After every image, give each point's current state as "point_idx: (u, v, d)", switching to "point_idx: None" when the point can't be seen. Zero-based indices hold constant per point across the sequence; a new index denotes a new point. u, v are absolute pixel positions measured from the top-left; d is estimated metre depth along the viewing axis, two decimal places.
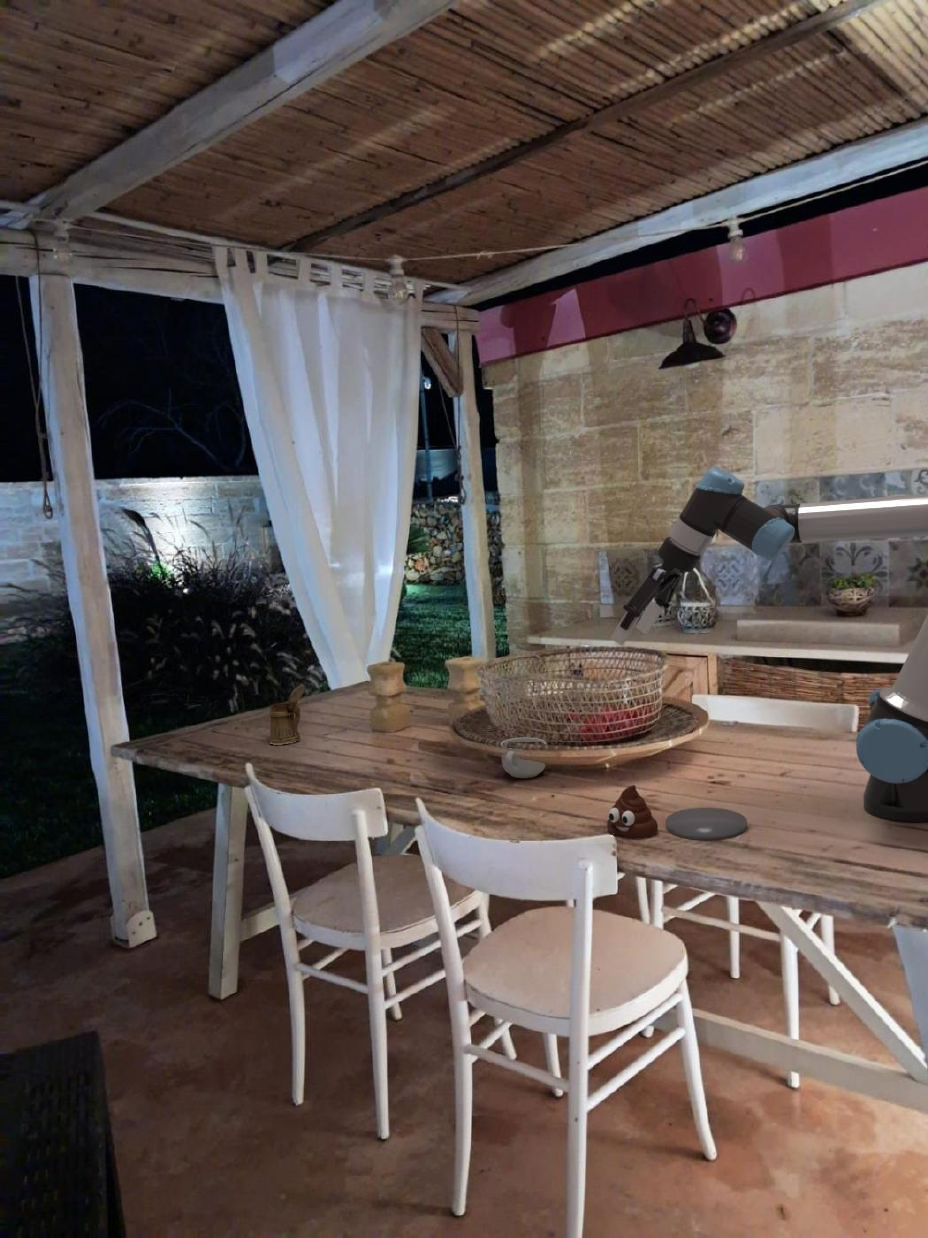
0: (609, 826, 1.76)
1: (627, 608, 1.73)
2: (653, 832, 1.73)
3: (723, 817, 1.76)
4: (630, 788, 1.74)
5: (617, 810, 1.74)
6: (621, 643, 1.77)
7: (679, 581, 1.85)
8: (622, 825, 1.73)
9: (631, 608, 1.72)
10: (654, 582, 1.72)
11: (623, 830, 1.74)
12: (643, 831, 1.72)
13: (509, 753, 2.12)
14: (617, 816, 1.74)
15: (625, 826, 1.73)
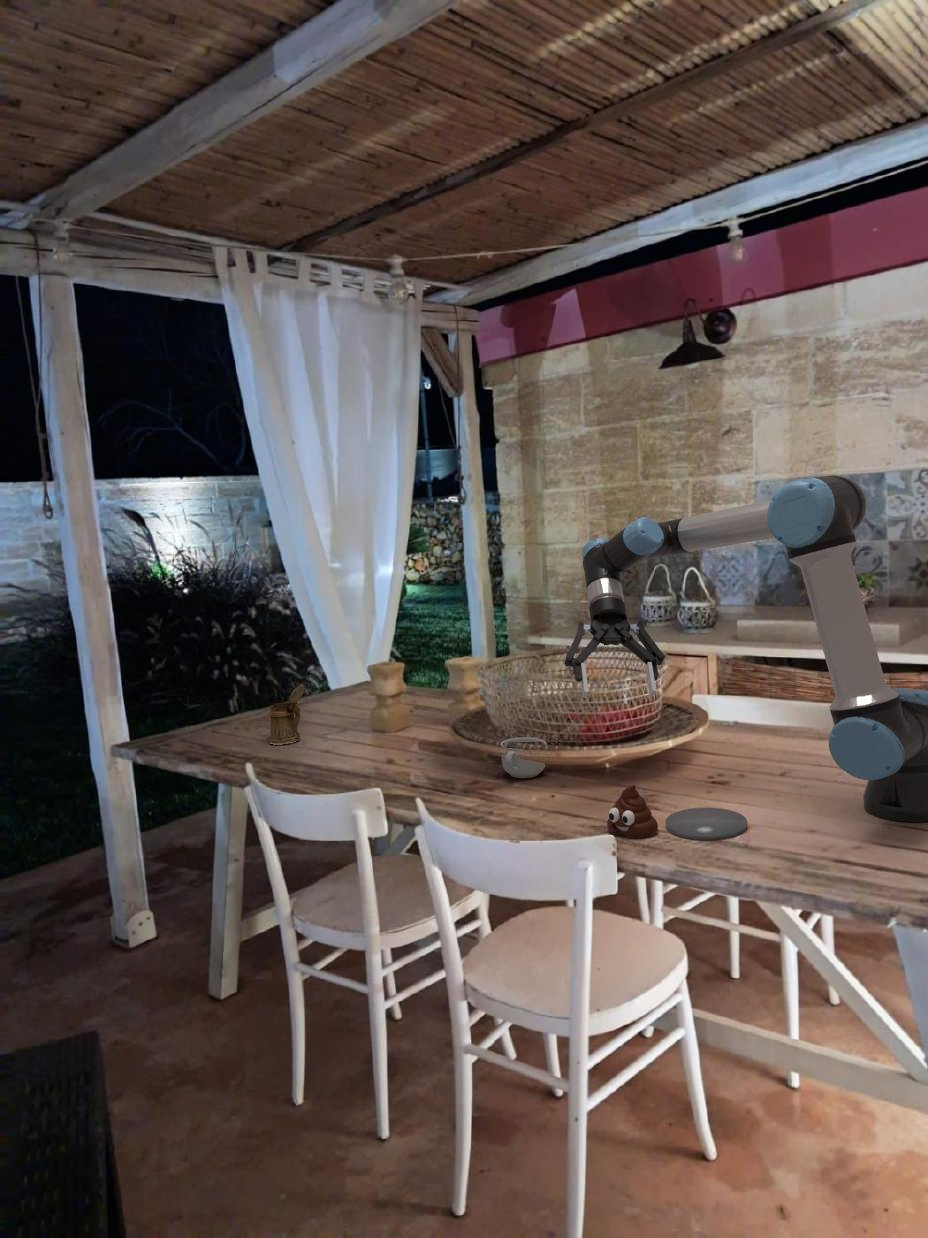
0: (609, 826, 1.76)
1: None
2: (653, 832, 1.73)
3: (723, 817, 1.76)
4: (630, 788, 1.75)
5: (617, 810, 1.74)
6: (584, 690, 1.83)
7: (648, 635, 1.91)
8: (622, 825, 1.73)
9: None
10: (577, 633, 1.91)
11: (623, 830, 1.74)
12: (643, 831, 1.72)
13: (509, 753, 2.12)
14: (617, 816, 1.74)
15: (625, 826, 1.73)
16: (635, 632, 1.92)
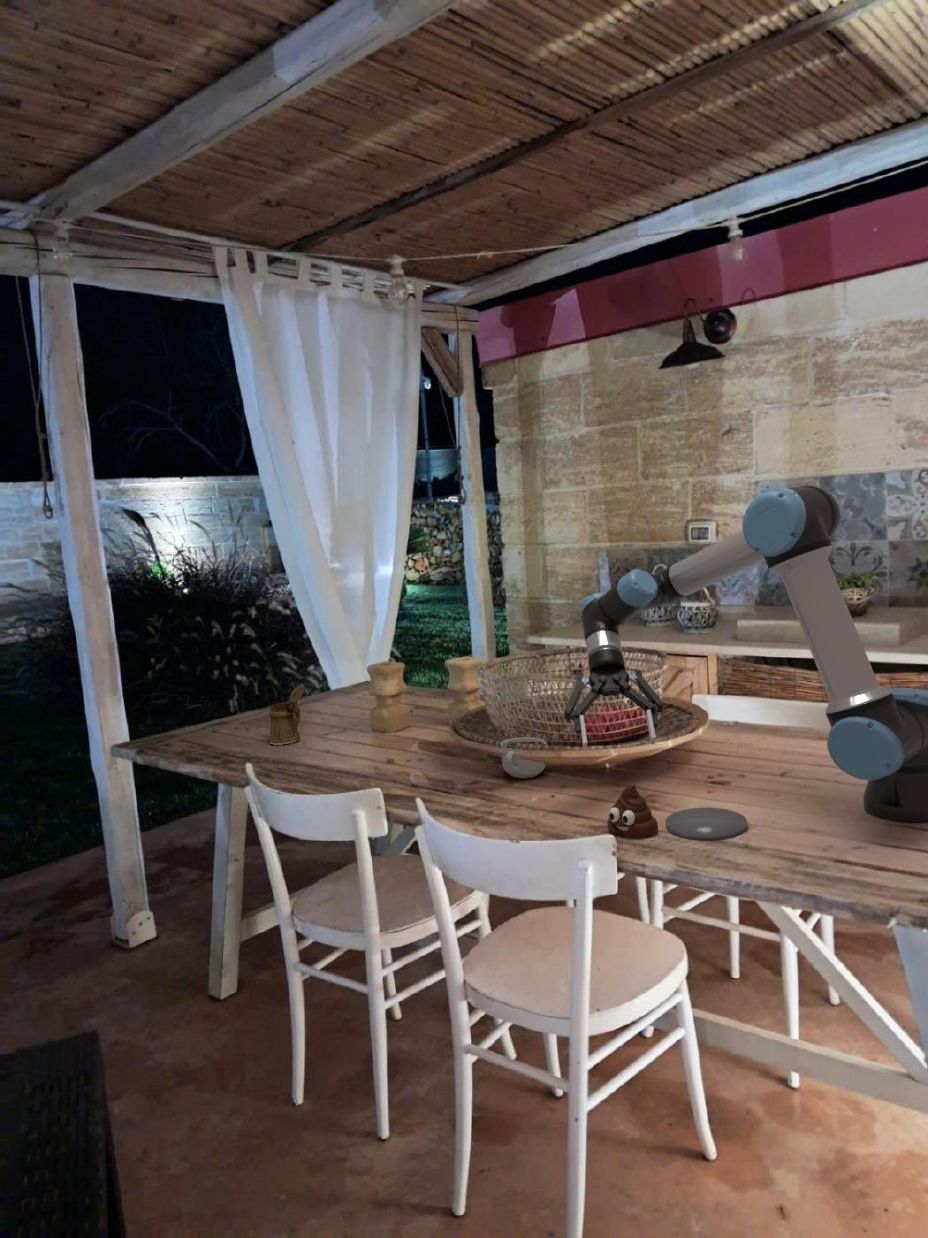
0: (609, 826, 1.76)
1: None
2: (653, 832, 1.73)
3: (723, 817, 1.76)
4: (630, 788, 1.75)
5: (617, 810, 1.75)
6: (583, 741, 1.85)
7: (647, 684, 1.92)
8: (622, 825, 1.73)
9: None
10: None
11: (623, 830, 1.74)
12: (643, 831, 1.72)
13: (509, 753, 2.12)
14: (617, 816, 1.74)
15: (625, 826, 1.73)
16: (634, 681, 1.94)
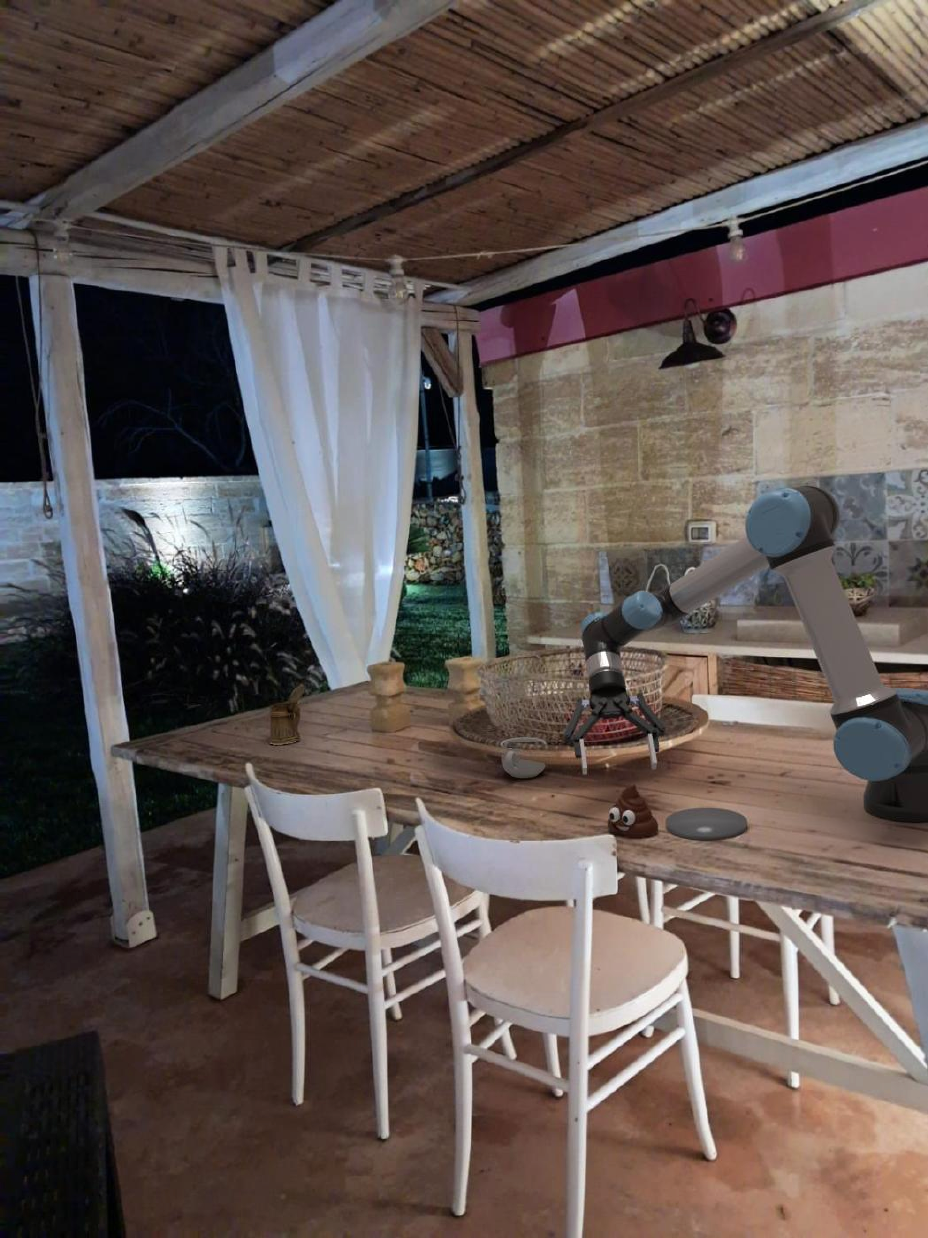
0: (609, 825, 1.76)
1: (564, 739, 1.87)
2: (653, 831, 1.73)
3: (723, 817, 1.76)
4: (630, 787, 1.75)
5: (617, 809, 1.75)
6: (583, 767, 1.81)
7: (648, 707, 1.88)
8: (622, 824, 1.73)
9: None
10: None
11: (623, 829, 1.74)
12: (643, 831, 1.72)
13: (509, 753, 2.12)
14: (617, 815, 1.74)
15: (625, 825, 1.73)
16: (635, 704, 1.90)
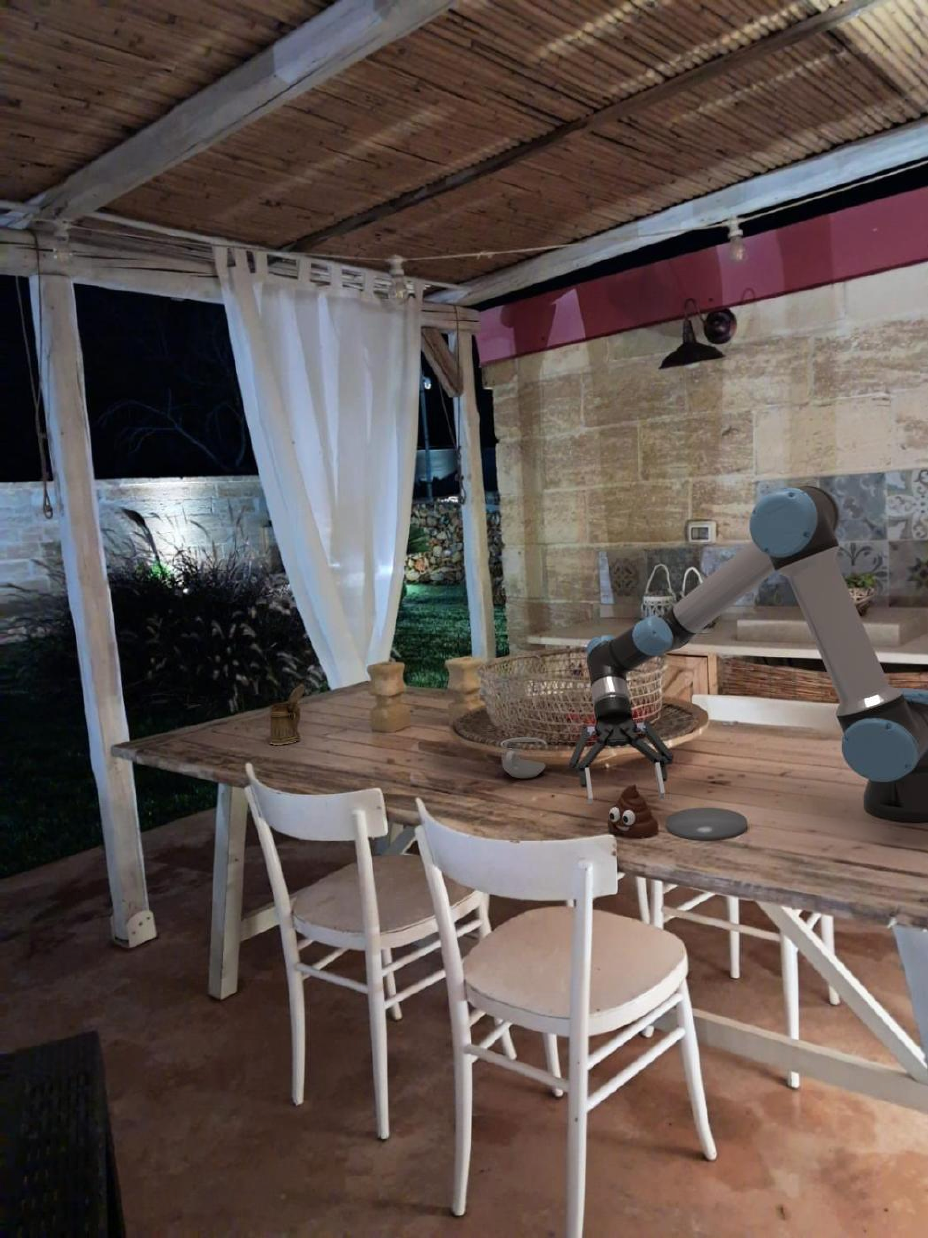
0: (609, 825, 1.76)
1: (569, 768, 1.82)
2: (653, 831, 1.73)
3: (723, 817, 1.76)
4: (630, 787, 1.75)
5: (618, 809, 1.75)
6: (588, 797, 1.76)
7: (656, 734, 1.83)
8: (622, 824, 1.73)
9: None
10: None
11: (623, 829, 1.75)
12: (643, 831, 1.72)
13: (509, 753, 2.12)
14: (618, 815, 1.74)
15: (625, 825, 1.73)
16: (642, 731, 1.85)
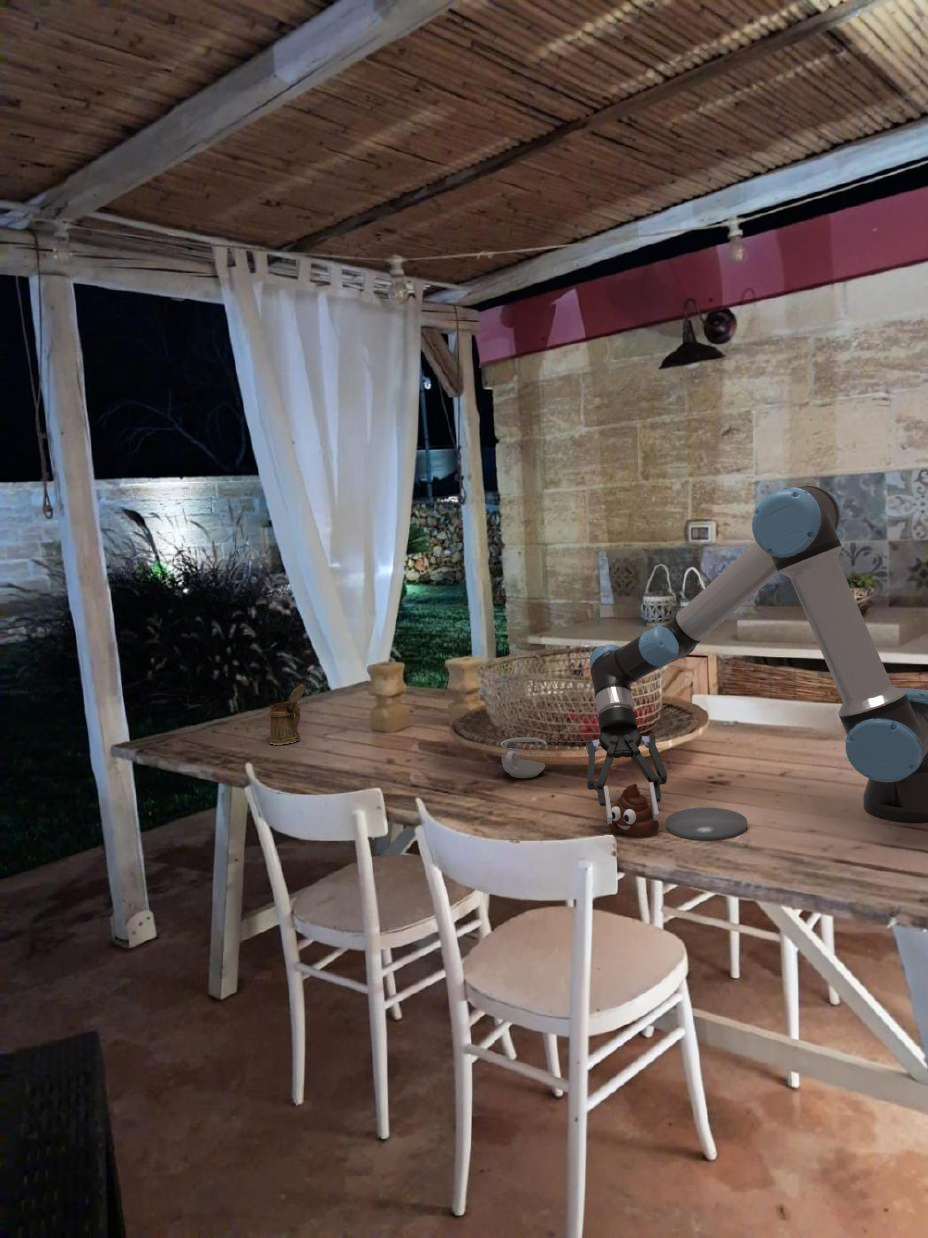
0: (610, 824, 1.76)
1: (587, 786, 1.78)
2: (654, 830, 1.73)
3: (723, 817, 1.76)
4: (631, 786, 1.75)
5: (618, 808, 1.75)
6: (608, 816, 1.72)
7: (657, 751, 1.80)
8: (623, 823, 1.74)
9: None
10: (589, 752, 1.82)
11: (624, 828, 1.75)
12: (644, 830, 1.72)
13: (509, 753, 2.12)
14: (618, 814, 1.74)
15: (626, 824, 1.73)
16: (645, 745, 1.82)
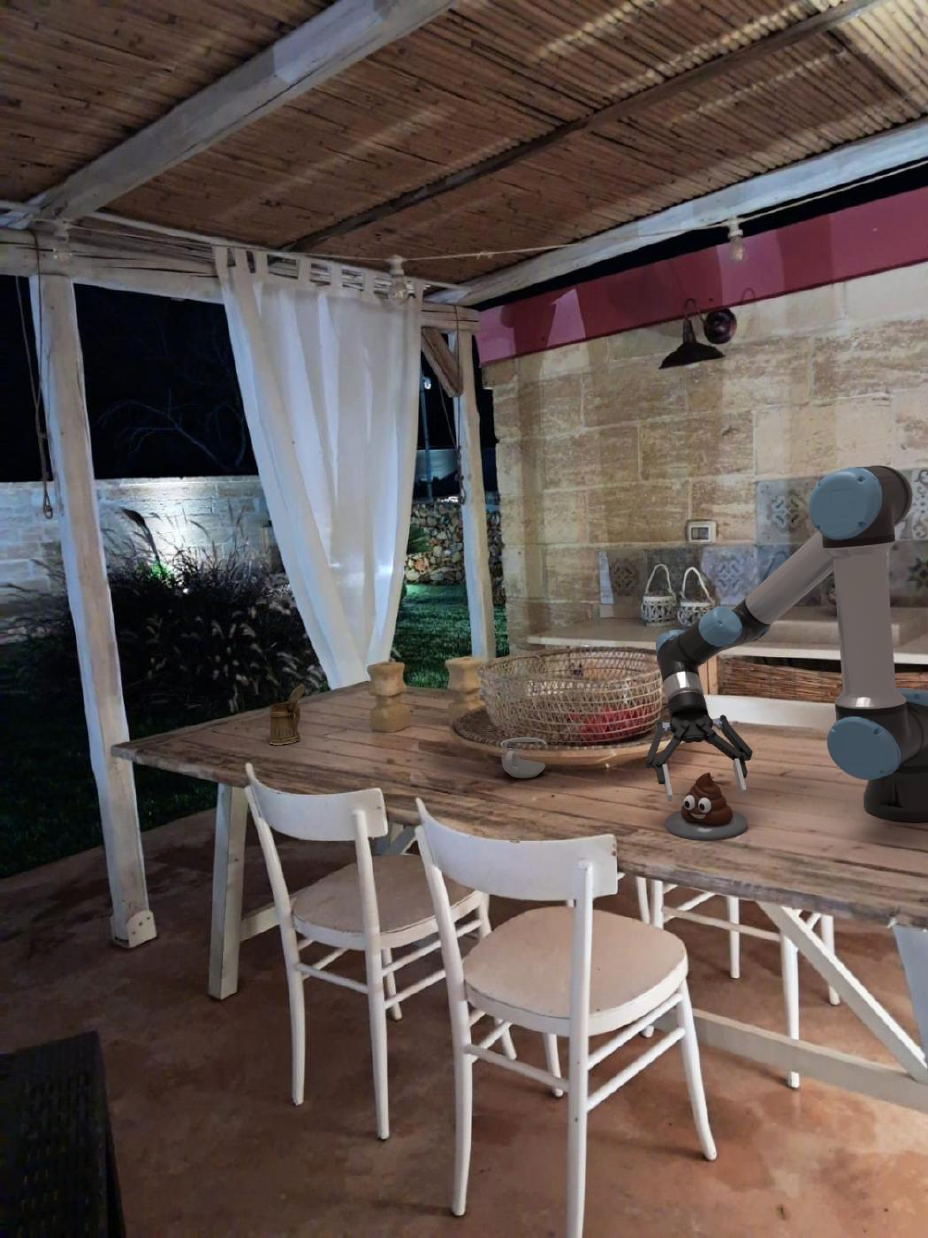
0: (684, 814, 1.76)
1: (645, 764, 1.79)
2: (729, 819, 1.73)
3: None
4: (705, 775, 1.74)
5: (693, 797, 1.74)
6: (668, 794, 1.72)
7: (733, 730, 1.79)
8: (698, 812, 1.73)
9: None
10: None
11: (699, 817, 1.74)
12: (720, 818, 1.72)
13: (509, 753, 2.12)
14: (693, 803, 1.74)
15: (701, 813, 1.73)
16: (718, 727, 1.81)
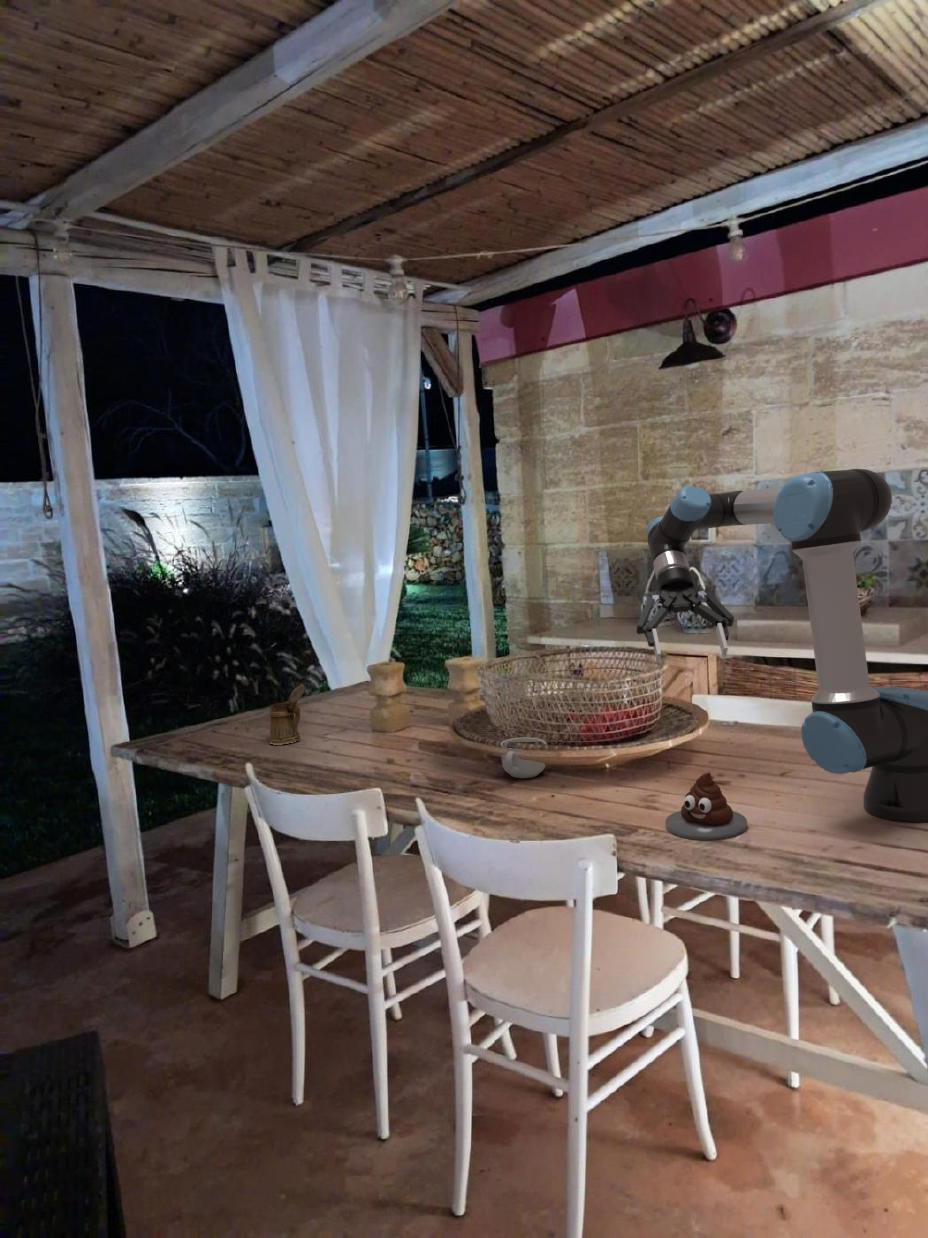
0: (684, 813, 1.76)
1: None
2: (729, 819, 1.73)
3: None
4: (705, 775, 1.74)
5: (693, 797, 1.74)
6: (657, 653, 1.90)
7: (716, 599, 1.97)
8: (698, 812, 1.73)
9: None
10: None
11: (699, 817, 1.74)
12: (720, 818, 1.72)
13: (509, 753, 2.12)
14: (693, 803, 1.74)
15: (702, 813, 1.73)
16: (703, 598, 1.99)
